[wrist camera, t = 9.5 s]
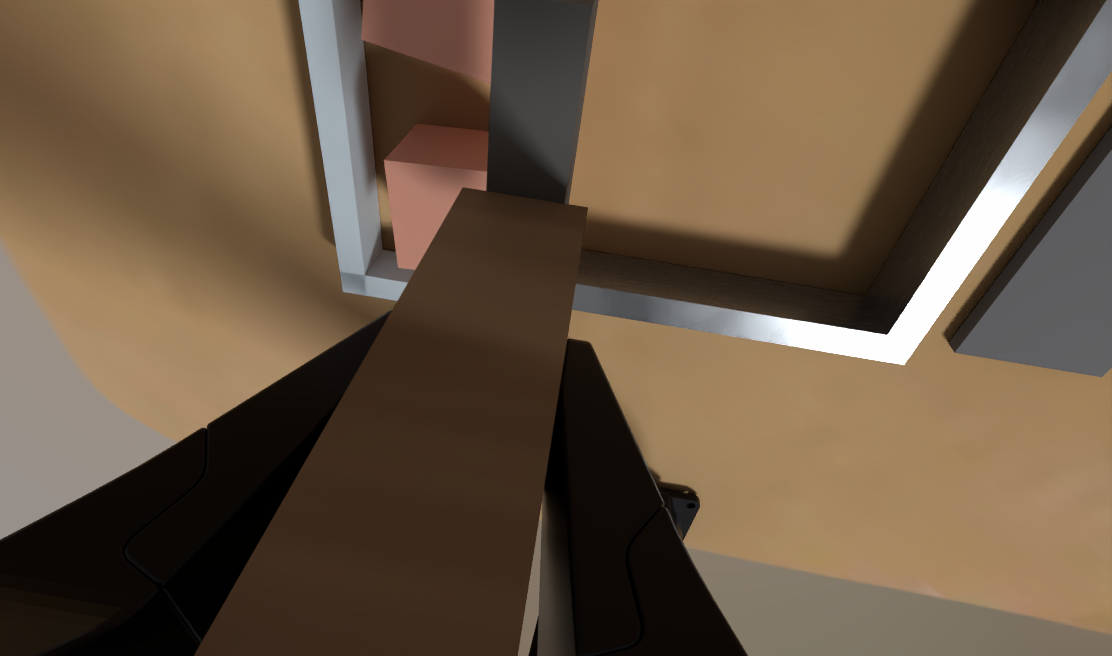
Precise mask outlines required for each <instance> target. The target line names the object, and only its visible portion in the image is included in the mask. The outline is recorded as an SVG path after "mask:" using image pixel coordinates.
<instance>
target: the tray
mask: <svg viewBox="0 0 1112 656" xmlns="http://www.w3.org/2000/svg"><path fill="white" fill-rule="evenodd" d="M299 7H300V13H301V20H302V26H303V33H304V40H305V46H306V53H307V59H308V66H309V72H310V79H311V85H312V92H313V99H314V105H315V112H316V118H317V125H318V131H319V138H320V144H321V151H322V158H323V164H324V171H325V177H326V184H327V190H328V197H329V203H330V210H331V216H332V223H333V230H334V236H335V243H336V249H337V256H338V262H339V269H340V275H341V282H342V289H343V292H347V293H353V294H359V295H365V296H371V297H377V298H383V299H389V300H395V301H398V299H399V297H400V296H401V294H402V292H403V290H404V289H405V287H406V285H407V283H408V282H409V280H410V278H411V276H412V275H413V273H414V271H415V270H412V269H404V268H398V263H397V256H396V252H394V251H388V250H383V247H382V236H381V225H380V214H379V203H378V192H377V181H376V170H375V159H374V148H373V138H372V127H371V116H370V105H369V94H368V83H367V72H366V61H365V50H364V40H361V32H362V17H361V6H360V0H299Z"/></svg>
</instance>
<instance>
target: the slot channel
mask: <svg viewBox="0 0 1112 656" xmlns="http://www.w3.org/2000/svg"><path fill="white" fill-rule="evenodd" d="M1111 71H1112V0H1039V2H1038V3H1037V5H1036V7H1035V8H1034V10H1033V12H1032V14H1031V15H1030V17H1029V19H1028V20H1027V22H1026V24H1025V26H1024V27H1023V29H1022V31H1021V32H1020V34H1019V36H1018V37H1017V39H1016V41H1015V43H1014V44H1013V46H1012V48H1011V49H1010V51H1009V53H1008V55H1007V56H1006V58H1005V60H1004V61H1003V63H1002V65H1001V66H1000V68H999V70H998V72H997V73H996V75H995V77H994V78H993V80H992V82H991V84H990V85H989V87H988V89H987V90H986V92H985V94H984V96H983V97H982V99H981V101H980V102H979V104H978V106H977V107H976V109H975V111H974V113H973V114H972V116H971V118H970V119H969V121H968V123H967V125H966V126H965V128H964V130H963V131H962V133H961V135H960V137H959V138H958V140H957V142H956V143H955V145H954V147H953V148H952V150H951V152H950V154H949V155H948V157H947V159H946V160H945V162H944V164H943V166H942V167H941V169H940V171H939V172H938V174H937V176H936V177H935V179H934V181H933V183H932V184H931V186H930V188H929V189H928V191H927V193H926V195H925V196H924V198H923V200H922V201H921V203H920V205H919V207H918V208H917V210H916V212H915V213H914V215H913V217H912V218H911V220H910V222H909V224H908V225H907V227H906V229H905V230H904V232H903V234H902V236H901V237H900V239H899V241H898V242H897V244H896V246H895V247H894V249H893V251H892V253H891V254H890V256H889V258H888V259H887V261H886V263H885V265H884V266H883V268H882V270H881V271H880V273H879V275H878V277H877V278H876V280H875V282H874V283H873V285H872V287H871V288H870V290H869V292H868V294H867V295H866V296H864V295H858V294H852V293H845V292H839V291H833V290H827V289H821V288H815V287H809V286H803V285H797V284H791V283H785V282H779V281H773V280H766V279H760V278H754V277H748V276H742V275H736V274H730V273H724V272H718V271H712V270H706V269H700V268H694V267H687V266H681V265H675V264H669V263H663V262H657V261H651V260H645V259H639V258H633V257H627V256H621V255H615V254H609V253H602V252H596V251H590V250H584V249H581V254H580V261H579V267H578V273H577V280H576V286H575V293H574V299H573V305H572V310H578V311H584V312H590V313H596V314H602V315H608V316H614V317H620V318H626V319H632V320H638V321H644V322H650V323H656V324H662V325H668V326H674V327H680V328H686V329H692V330H698V331H704V332H710V333H716V334H722V335H728V336H734V337H740V338H746V339H752V340H758V341H764V342H770V343H776V344H782V345H788V346H794V347H800V348H806V349H812V350H818V351H824V352H830V353H836V354H842V355H848V356H854V357H860V358H866V359H872V360H878V361H884V362H890V363H896V364H902V365H904V364H905V362H906V361H907V359H908V358H909V357H910V355H911V354H912V352H913V351H914V349H915V348H916V347H917V345H918V344H919V342H920V341H921V340H922V338H923V337H924V335H925V334H926V332H927V331H928V330H929V328H930V327H931V325H932V324H933V323H934V321H935V320H936V318H937V317H938V316H939V314H940V313H941V311H942V310H943V308H944V307H945V306H946V304H947V303H948V301H949V300H950V299H951V297H952V296H953V294H954V293H955V292H956V290H957V289H958V287H959V286H960V284H961V283H962V282H963V280H964V279H965V277H966V276H967V275H968V273H969V272H970V270H971V269H972V267H973V266H974V265H975V263H976V262H977V260H978V259H979V258H980V256H981V255H982V253H983V252H984V251H985V249H986V248H987V246H988V245H989V243H990V242H991V241H992V239H993V238H994V236H995V235H996V234H997V232H998V231H999V229H1000V228H1001V226H1002V225H1003V224H1004V222H1005V221H1006V219H1007V218H1008V217H1009V215H1010V214H1011V212H1012V211H1013V210H1014V208H1015V207H1016V205H1017V204H1018V202H1019V201H1020V200H1021V198H1022V197H1023V195H1024V194H1025V193H1026V191H1027V190H1028V188H1029V187H1030V186H1031V184H1032V183H1033V181H1034V180H1035V178H1036V177H1037V176H1038V174H1039V173H1040V171H1041V170H1042V169H1043V167H1044V166H1045V164H1046V163H1047V161H1048V160H1049V159H1050V157H1051V156H1052V154H1053V153H1054V152H1055V150H1056V149H1057V147H1058V146H1059V145H1060V143H1061V142H1062V140H1063V139H1064V137H1065V136H1066V135H1067V133H1068V132H1069V130H1070V129H1071V128H1072V126H1073V125H1074V123H1075V122H1076V120H1077V119H1078V118H1079V116H1080V115H1081V113H1082V112H1083V111H1084V109H1085V108H1086V106H1087V105H1088V104H1089V102H1090V101H1091V99H1092V98H1093V96H1094V95H1095V94H1096V92H1097V91H1098V89H1099V88H1100V87H1101V85H1102V84H1103V82H1104V81H1105V79H1106V78H1107V77H1108V75H1109V74H1110V72H1111Z"/></svg>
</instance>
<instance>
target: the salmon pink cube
mask: <svg viewBox="0 0 1112 656" xmlns="http://www.w3.org/2000/svg"><path fill="white" fill-rule="evenodd" d="M488 137H489V131H482V130H473V129H463V128H454V127H445V126H436V125H427V124H418V123H417V124H416V125H415V126H414V127H413V129H412V130H411V131H410V132H409V133H408V134H407V135H406V136H405V137H404V138H403V140H402V141H401V142H400V143H399V144H398V145H397V146H396V147H395V148H394V149H393V151H392V152H391V153H390V154H389V155H388V156H387V157H386V158H385V159H384V165H385V173H386V180H387V188H388V195H389V203H390V211H391V218H392V226H393V233H394V241H395V248H396V256H397V263H398V268H404V269H412V270H416V268H417V266H418V264H419V263H420V261H421V259H422V257H423V256H424V254H425V252H426V250H427V249H428V247H429V245H430V243H431V242H432V240H433V238H434V236H435V235H436V233H437V231H438V229H439V228H440V226H441V224H442V222H443V221H444V219H445V217H446V216H447V214H448V212H449V210H450V209H451V207H452V205H453V203H454V202H455V200H456V198H457V196H458V195H459V193H460V191H461V189H462V188H463V187H465V188H471V189H478V190H484V191H486V184H487V160H488Z"/></svg>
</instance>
